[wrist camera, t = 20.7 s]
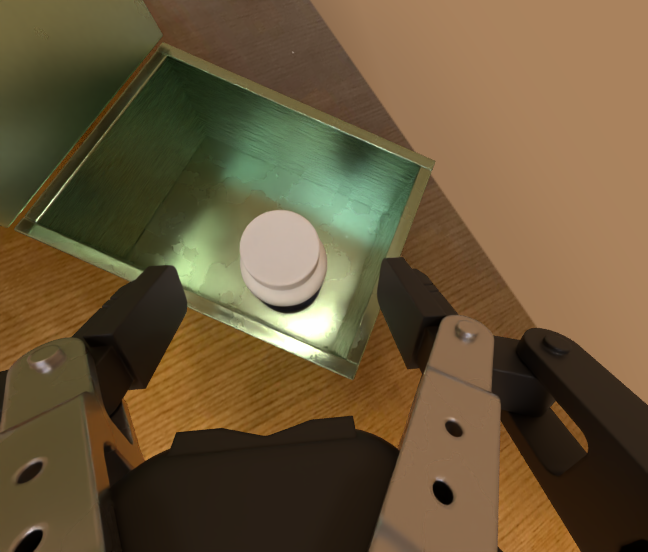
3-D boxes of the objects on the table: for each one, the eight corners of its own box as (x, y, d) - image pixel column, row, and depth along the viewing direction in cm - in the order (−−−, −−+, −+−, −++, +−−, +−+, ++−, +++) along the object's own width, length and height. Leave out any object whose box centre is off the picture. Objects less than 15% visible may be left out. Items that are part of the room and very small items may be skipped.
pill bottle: (332, 292, 21) (354, 265, 13) (277, 326, 20) (260, 322, 12) (299, 240, 22) (298, 181, 13) (245, 270, 21) (205, 228, 12)
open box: (393, 214, 24) (435, 160, 17) (334, 363, 21) (353, 381, 13) (206, 132, 24) (162, 41, 17) (117, 266, 21) (12, 229, 13)
